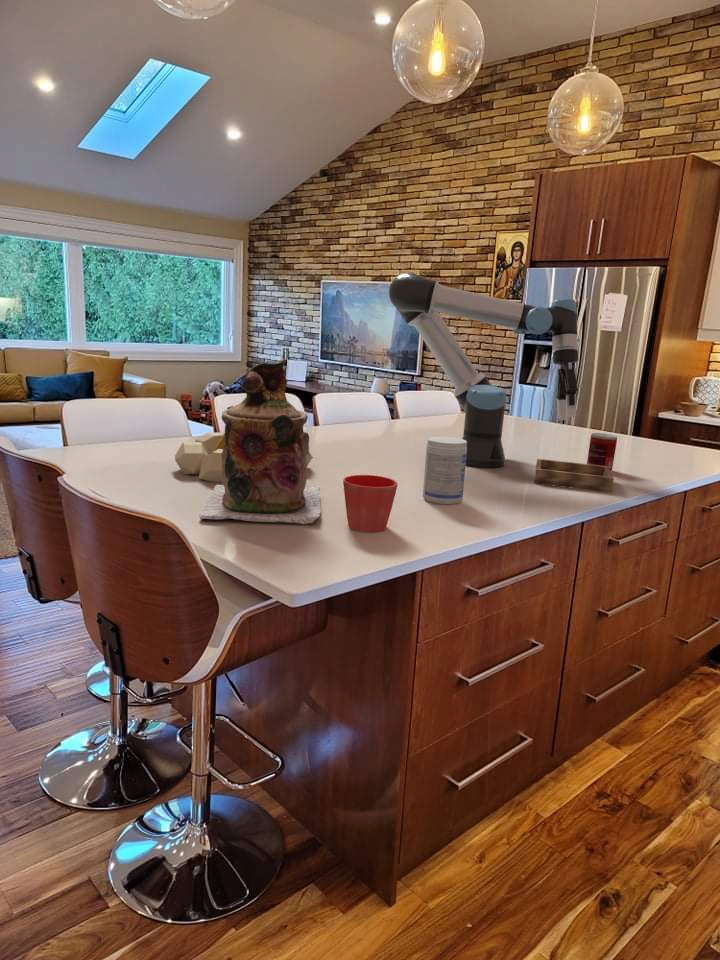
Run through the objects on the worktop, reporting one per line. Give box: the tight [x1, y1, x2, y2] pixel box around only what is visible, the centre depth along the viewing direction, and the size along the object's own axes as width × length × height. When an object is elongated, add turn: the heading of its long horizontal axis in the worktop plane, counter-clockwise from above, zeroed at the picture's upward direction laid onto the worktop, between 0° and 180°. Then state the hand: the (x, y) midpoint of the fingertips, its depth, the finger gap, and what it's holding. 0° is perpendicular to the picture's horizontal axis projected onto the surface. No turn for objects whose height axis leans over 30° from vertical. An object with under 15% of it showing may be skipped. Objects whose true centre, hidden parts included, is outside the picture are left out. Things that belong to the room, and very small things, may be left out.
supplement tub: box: [422, 436, 467, 505], centre depth 153 cm, size 10×10×15 cm
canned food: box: [586, 432, 618, 472], centre depth 199 cm, size 8×8×11 cm
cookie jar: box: [198, 358, 322, 525], centre depth 136 cm, size 25×25×32 cm
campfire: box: [174, 405, 313, 483], centre depth 171 cm, size 35×34×17 cm
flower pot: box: [342, 474, 399, 533], centre depth 130 cm, size 11×11×10 cm
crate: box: [534, 458, 614, 494], centre depth 182 cm, size 20×16×4 cm
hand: (567, 418), depth 201 cm, fingers open, 13 cm apart
